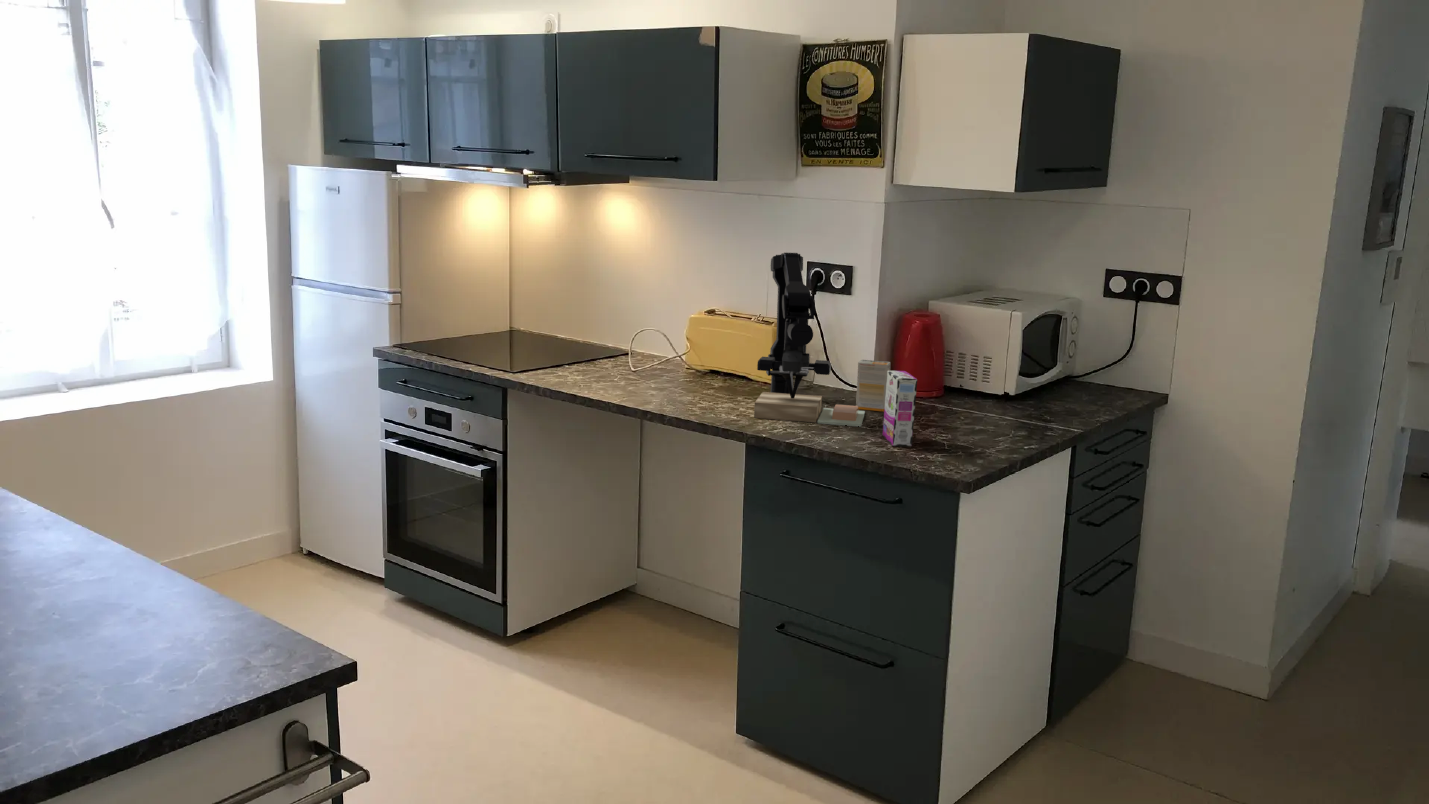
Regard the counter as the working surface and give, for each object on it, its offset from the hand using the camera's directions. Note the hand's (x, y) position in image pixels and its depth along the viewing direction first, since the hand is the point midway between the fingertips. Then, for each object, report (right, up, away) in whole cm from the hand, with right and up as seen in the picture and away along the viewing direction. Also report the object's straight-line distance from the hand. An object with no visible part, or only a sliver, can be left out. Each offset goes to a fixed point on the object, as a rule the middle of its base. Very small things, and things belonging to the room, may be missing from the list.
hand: (792, 398), depth 291 cm
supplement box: (+22, -3, +11) cm, 25 cm away
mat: (+13, -5, -2) cm, 14 cm away
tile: (+14, -3, -2) cm, 14 cm away
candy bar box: (+24, -11, -23) cm, 35 cm away
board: (-1, -4, +1) cm, 4 cm away
